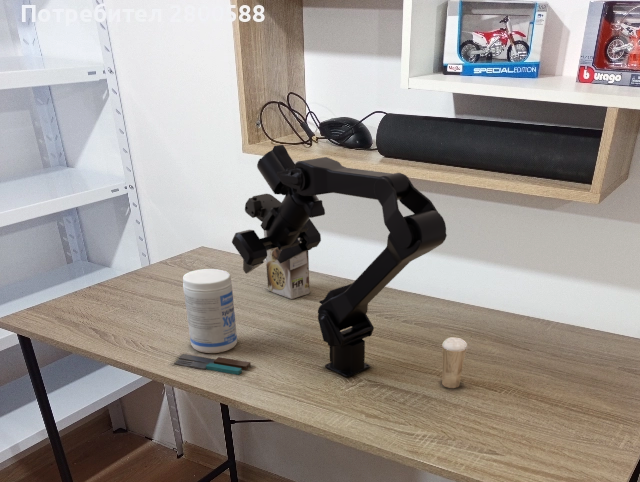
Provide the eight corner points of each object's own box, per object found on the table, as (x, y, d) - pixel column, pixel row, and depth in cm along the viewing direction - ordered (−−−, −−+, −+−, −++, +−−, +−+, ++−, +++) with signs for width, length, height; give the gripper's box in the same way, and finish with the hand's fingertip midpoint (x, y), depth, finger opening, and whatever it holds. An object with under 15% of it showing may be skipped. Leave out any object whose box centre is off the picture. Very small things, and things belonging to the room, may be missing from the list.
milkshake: (460, 393, 126) (466, 343, 120) (434, 386, 128) (438, 336, 123) (470, 384, 129) (476, 334, 124) (445, 376, 132) (449, 328, 126)
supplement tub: (237, 354, 139) (230, 283, 131) (189, 356, 138) (179, 284, 129) (237, 334, 147) (231, 267, 138) (192, 336, 146) (183, 268, 137)
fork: (242, 371, 132) (242, 367, 132) (238, 375, 131) (237, 371, 130) (179, 360, 136) (178, 356, 135) (173, 364, 134) (173, 360, 134)
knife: (250, 366, 134) (250, 362, 134) (246, 370, 133) (245, 366, 132) (183, 354, 138) (182, 350, 137) (178, 359, 136) (177, 354, 136)
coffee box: (310, 293, 168) (309, 226, 159) (291, 300, 164) (288, 231, 155) (286, 284, 173) (283, 218, 164) (266, 290, 169) (262, 223, 160)
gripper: (305, 173, 134) (275, 226, 146) (230, 187, 123) (204, 244, 135) (337, 218, 133) (304, 268, 145) (264, 237, 122) (234, 289, 134)
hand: (262, 266), depth 140 cm, fingers open, 9 cm apart
